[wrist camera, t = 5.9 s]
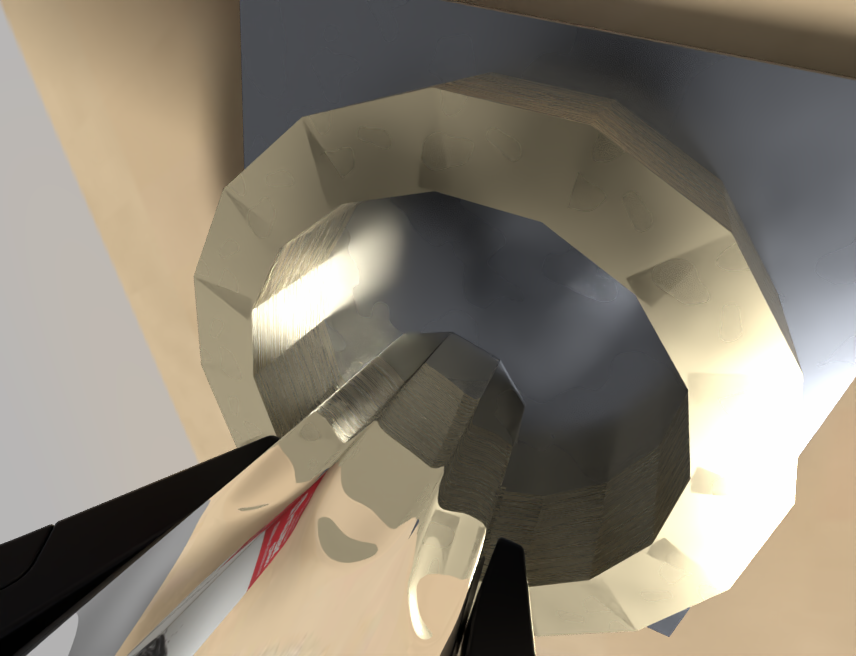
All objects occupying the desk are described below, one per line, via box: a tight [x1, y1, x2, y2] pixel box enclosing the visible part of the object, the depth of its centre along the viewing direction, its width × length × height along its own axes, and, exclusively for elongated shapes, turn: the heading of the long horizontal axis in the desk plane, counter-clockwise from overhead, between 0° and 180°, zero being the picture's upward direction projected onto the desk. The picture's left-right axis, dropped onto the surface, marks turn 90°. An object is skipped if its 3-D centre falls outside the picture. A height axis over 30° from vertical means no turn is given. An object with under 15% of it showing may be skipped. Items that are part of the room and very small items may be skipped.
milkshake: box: [9, 332, 525, 656], centre depth 7 cm, size 4×5×10 cm
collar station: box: [194, 0, 856, 637], centre depth 13 cm, size 14×14×4 cm
